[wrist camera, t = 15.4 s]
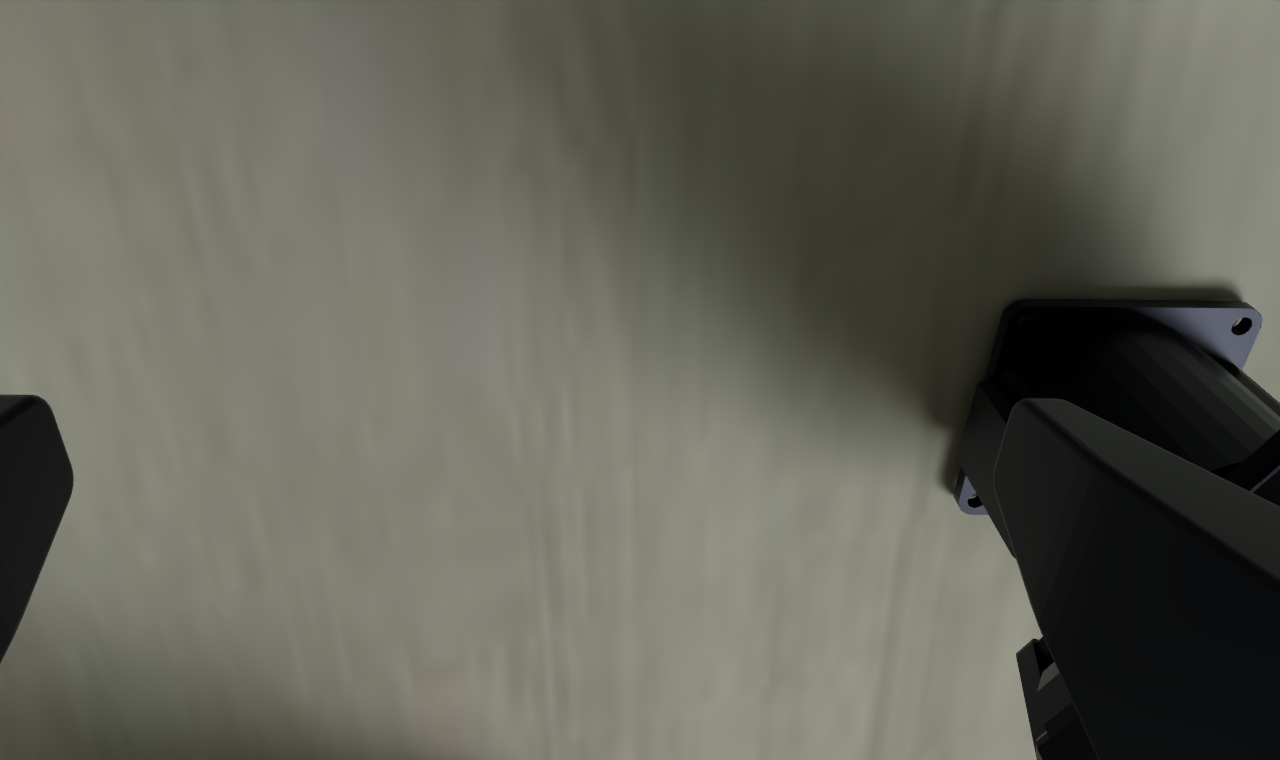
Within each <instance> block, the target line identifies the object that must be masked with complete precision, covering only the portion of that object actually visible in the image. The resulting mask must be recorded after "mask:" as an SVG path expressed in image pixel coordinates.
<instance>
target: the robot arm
mask: <svg viewBox="0 0 1280 760" xmlns="http://www.w3.org/2000/svg"><path fill="white" fill-rule="evenodd" d="M1028 315H1031V318H1030V320H1029V321H1028V322H1027V323H1026V324H1024V325H1021V326H1017V324H1018V322H1019V320H1020V319H1021V318H1023V317H1024V316H1028ZM1240 318H1242V320H1241V321H1240V323H1239V324H1238V325H1236V326H1234V327H1232V325H1233V324H1234V323H1235V321H1237V320H1239V319H1240ZM1261 324H1262V316H1261V314H1260V313H1259V312H1258V311H1257V310H1256V309H1254V308H1253V307H1252V306H1250V305H1249V304H1247V303H1245V302H1241V301H1175V300H1088V299H1022V300H1017V301H1015V302H1013V303H1011V304H1010V305H1009V306H1008V307H1007V308H1006V309H1005V310H1004V312H1003V314H1002V316H1001V320H1000V324H999V327H998V331H997V335H996V338H995V342H994V346H993V349H992V353H991V357H990V361H989V364H988V368H987V372H986V375H985V377H983V378H982V379H981V381H980V382H979V383H978V384H977V386H976V390H975V393H974V397H973V401H972V405H971V408H970V412H969V416H968V420H967V423H966V427H965V431H964V435H963V438H962V442H961V446H960V450H959V453H958V458H957V459H958V462H959V464H960V466H961V468H960V471H959V475H958V479H957V482H956V486H955V490H954V498H955V500H956V502H957V504H958V505H959V507H960V509H961V511H963V512H964V513H966V514H972V515H989V516H990V518H991V520H992V521H993V523H994V525H995V527H996V528H997V530H998V532H999V533H1000V535H1001V537H1002V539H1003V540H1004V542H1005V544H1006V546H1007V547H1008V549H1009V551H1010V553H1011V554H1012V556H1013V557H1014V558H1015V559H1016V560H1017V563H1018V566H1019V569H1020V572H1021V575H1022V579H1023V582H1024V585H1025V588H1026V591H1027V594H1028V597H1029V600H1030V603H1031V606H1032V609H1033V612H1034V615H1035V617H1036V620H1037V623H1038V626H1039V628H1040V630H1041V633H1042V635H1043V637H1042V638H1040V639H1039V640H1037V639H1032V640H1031V641H1030V642H1029V643H1028V644H1027V645H1025V646H1024V647H1023V648H1022V649H1021V650H1020V651H1019V652H1017V653H1016V657H1017V662H1018V667H1019V672H1020V677H1021V682H1022V687H1023V692H1024V697H1025V702H1026V707H1027V712H1028V717H1029V722H1030V727H1031V732H1032V737H1033V742H1034V747H1035V752H1036V757H1037V760H1280V403H1279V402H1278V401H1277V400H1276V399H1274V398H1273V397H1272V396H1271V395H1270V394H1268V393H1267V392H1266V391H1265V390H1264V389H1263V388H1261V387H1260V386H1259V385H1258V384H1257V383H1256V382H1254V381H1253V380H1252V379H1251V378H1250V377H1248V376H1247V375H1246V374H1245V373H1244V372H1243V371H1242V369H1243V367H1244V364H1245V362H1246V360H1247V357H1248V355H1249V353H1250V351H1251V348H1252V346H1253V344H1254V341H1255V339H1256V337H1257V335H1258V332H1259V330H1260V328H1261ZM72 489H73V470H72V466H71V463H70V460H69V457H68V454H67V452H66V449H65V446H64V443H63V440H62V437H61V434H60V431H59V429H58V426H57V423H56V420H55V417H54V414H53V412H52V410H51V407H50V406H49V404H48V403H47V402H46V401H45V400H44V399H42V398H40V397H39V396H36V395H0V663H1V661H2V659H3V657H4V655H5V653H6V651H7V649H8V647H9V645H10V643H11V641H12V639H13V637H14V635H15V633H16V630H17V628H18V626H19V624H20V621H21V619H22V617H23V615H24V612H25V610H26V607H27V605H28V602H29V600H30V597H31V595H32V592H33V590H34V587H35V585H36V582H37V580H38V577H39V575H40V572H41V570H42V567H43V565H44V562H45V560H46V557H47V555H48V552H49V550H50V547H51V545H52V542H53V540H54V537H55V535H56V532H57V530H58V527H59V525H60V522H61V520H62V517H63V515H64V512H65V510H66V507H67V505H68V502H69V500H70V497H71V494H72ZM973 494H977V495H978V496H976V497H975V498H971V499H969V497H970V496H972V495H973Z"/></svg>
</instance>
